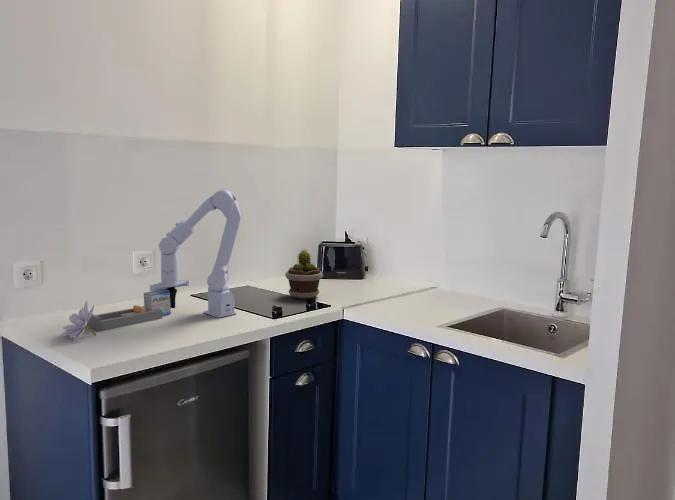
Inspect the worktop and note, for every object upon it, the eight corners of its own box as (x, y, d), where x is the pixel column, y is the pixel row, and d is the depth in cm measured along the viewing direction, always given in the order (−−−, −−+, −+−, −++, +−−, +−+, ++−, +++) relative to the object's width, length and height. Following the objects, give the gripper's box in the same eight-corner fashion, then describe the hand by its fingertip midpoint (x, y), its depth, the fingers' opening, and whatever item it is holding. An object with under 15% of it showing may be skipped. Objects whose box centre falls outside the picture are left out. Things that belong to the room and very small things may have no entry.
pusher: (145, 319, 202) (145, 308, 202) (125, 323, 197) (125, 311, 197) (136, 316, 206) (136, 305, 206) (117, 320, 201) (116, 308, 200)
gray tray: (162, 318, 205) (162, 305, 205) (97, 331, 189) (96, 318, 188) (148, 313, 211) (148, 301, 211) (84, 326, 194) (83, 312, 194)
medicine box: (152, 318, 205) (151, 294, 203) (144, 316, 207) (143, 292, 206) (171, 314, 211) (170, 290, 210) (163, 312, 214) (162, 288, 212)
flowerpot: (322, 302, 234) (322, 251, 231) (283, 301, 234) (283, 250, 231) (323, 293, 248) (324, 246, 245) (286, 293, 248) (287, 245, 245)
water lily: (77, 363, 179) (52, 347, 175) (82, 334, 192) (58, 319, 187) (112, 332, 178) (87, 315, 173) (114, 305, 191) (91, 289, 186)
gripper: (180, 266, 219) (181, 302, 221) (144, 271, 208) (145, 309, 210) (192, 269, 214) (192, 306, 216) (155, 274, 203) (156, 313, 205)
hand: (170, 308), depth 213 cm, fingers closed, pressing on medicine box
